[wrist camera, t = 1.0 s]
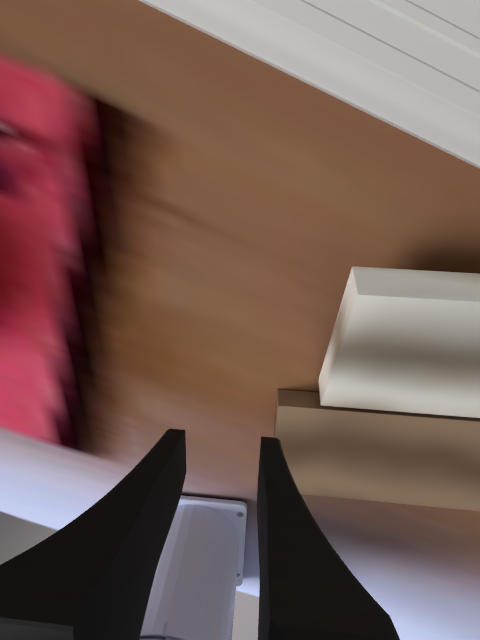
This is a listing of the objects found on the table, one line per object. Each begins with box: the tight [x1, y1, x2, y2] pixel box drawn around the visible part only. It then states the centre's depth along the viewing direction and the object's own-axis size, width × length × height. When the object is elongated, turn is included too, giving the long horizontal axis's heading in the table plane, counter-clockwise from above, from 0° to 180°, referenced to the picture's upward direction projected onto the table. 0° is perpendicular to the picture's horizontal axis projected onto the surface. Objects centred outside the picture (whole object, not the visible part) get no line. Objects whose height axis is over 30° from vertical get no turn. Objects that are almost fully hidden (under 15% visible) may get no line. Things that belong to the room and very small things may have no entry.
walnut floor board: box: [273, 389, 480, 511], centre depth 23 cm, size 7×16×2 cm, turn 88°
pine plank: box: [319, 267, 480, 418], centre depth 18 cm, size 9×11×2 cm
